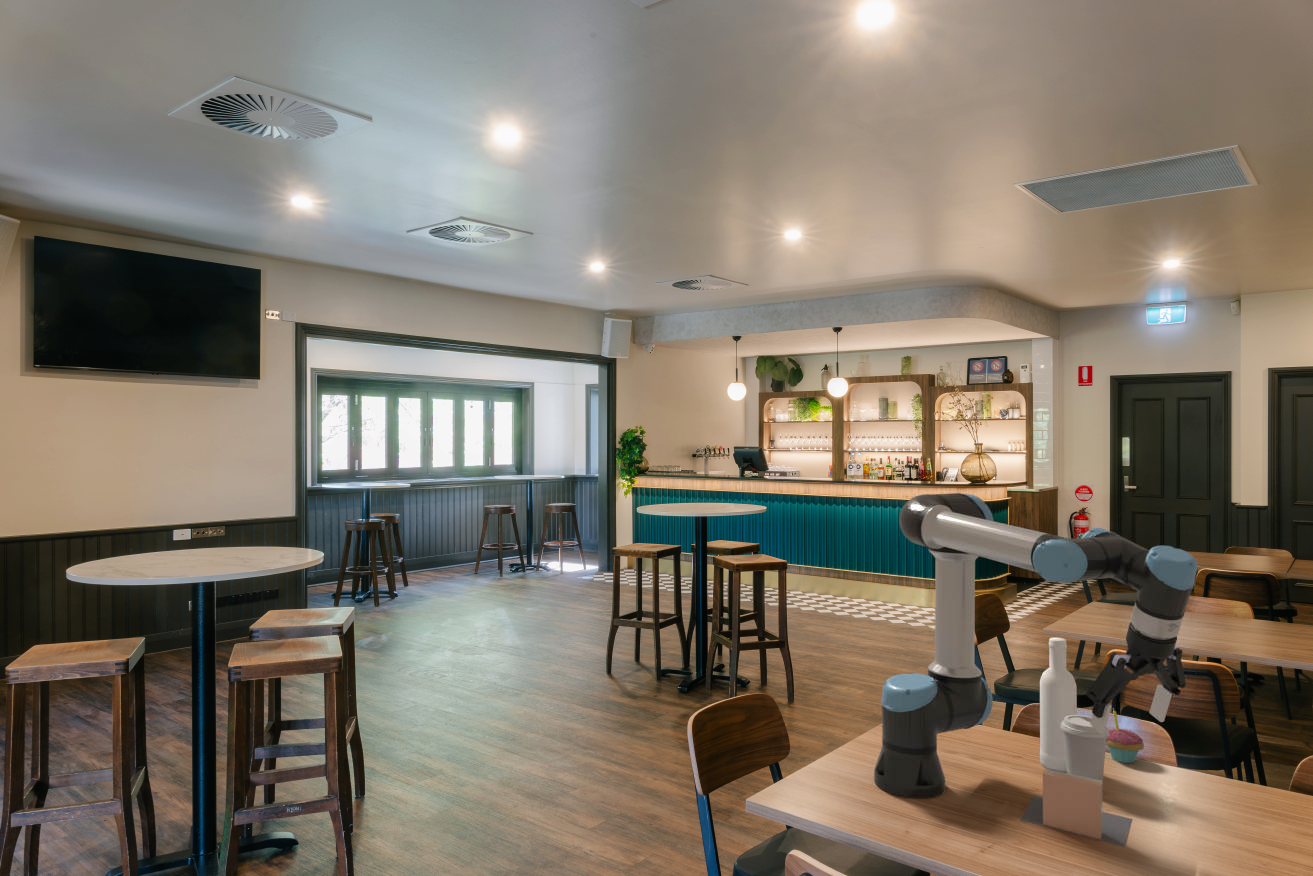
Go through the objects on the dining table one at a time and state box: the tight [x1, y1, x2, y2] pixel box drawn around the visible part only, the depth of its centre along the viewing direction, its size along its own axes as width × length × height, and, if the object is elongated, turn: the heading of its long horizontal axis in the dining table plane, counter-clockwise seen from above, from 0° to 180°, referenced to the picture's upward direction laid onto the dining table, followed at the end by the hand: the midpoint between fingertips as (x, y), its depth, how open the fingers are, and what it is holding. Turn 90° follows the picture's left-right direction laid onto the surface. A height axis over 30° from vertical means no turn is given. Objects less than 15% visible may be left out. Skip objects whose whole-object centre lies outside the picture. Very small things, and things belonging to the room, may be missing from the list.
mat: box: [1020, 795, 1133, 848], centre depth 158 cm, size 18×14×1 cm
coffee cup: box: [1060, 714, 1109, 785], centre depth 174 cm, size 10×10×15 cm
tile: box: [1042, 768, 1104, 839], centre depth 154 cm, size 10×3×10 cm, turn 54°
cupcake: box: [1106, 707, 1145, 764], centre depth 191 cm, size 9×8×12 cm
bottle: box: [1039, 637, 1078, 773], centre depth 187 cm, size 8×8×30 cm
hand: (1127, 723), depth 150 cm, fingers open, 13 cm apart
